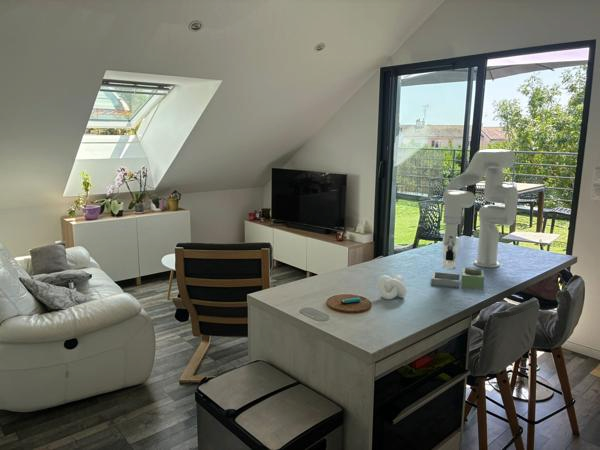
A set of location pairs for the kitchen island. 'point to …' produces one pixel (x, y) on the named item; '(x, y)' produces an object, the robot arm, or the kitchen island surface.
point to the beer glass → (451, 264)
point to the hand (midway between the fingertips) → (449, 257)
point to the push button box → (470, 278)
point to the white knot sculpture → (391, 287)
